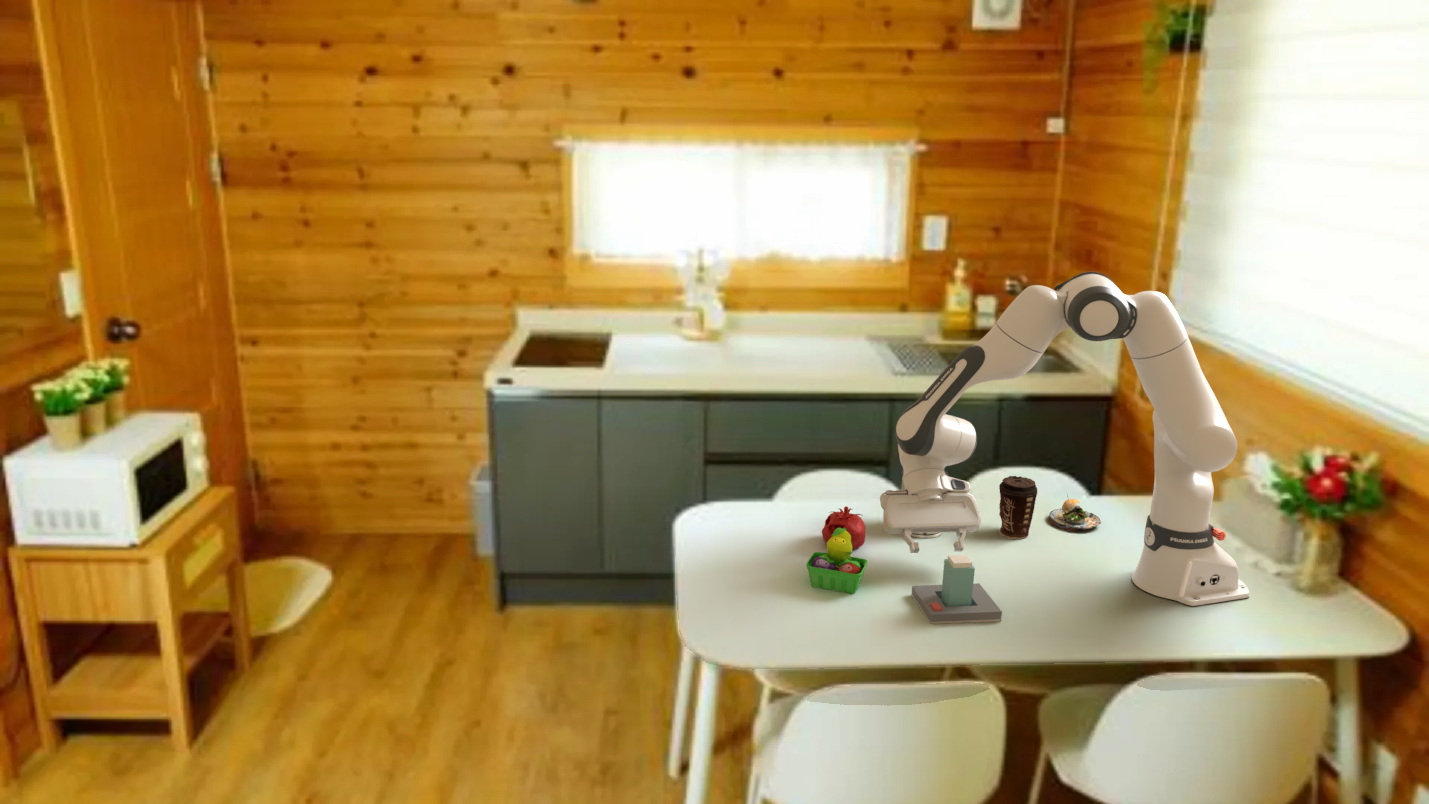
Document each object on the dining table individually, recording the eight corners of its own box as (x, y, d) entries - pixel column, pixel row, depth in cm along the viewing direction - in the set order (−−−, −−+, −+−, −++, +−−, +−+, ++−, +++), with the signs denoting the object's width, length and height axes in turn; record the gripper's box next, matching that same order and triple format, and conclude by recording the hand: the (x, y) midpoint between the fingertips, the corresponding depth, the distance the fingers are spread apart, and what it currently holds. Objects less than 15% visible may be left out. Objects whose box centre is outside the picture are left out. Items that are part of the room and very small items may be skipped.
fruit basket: (803, 588, 212) (806, 537, 209) (815, 570, 220) (817, 521, 216) (859, 598, 208) (862, 546, 205) (868, 579, 216) (871, 529, 213)
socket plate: (978, 592, 212) (979, 581, 211) (1000, 621, 200) (1002, 609, 199) (911, 594, 210) (912, 583, 209) (930, 623, 198) (931, 612, 198)
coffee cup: (1004, 523, 246) (1010, 471, 243) (1038, 532, 241) (1045, 480, 237) (988, 534, 240) (994, 481, 236) (1023, 544, 235) (1029, 490, 231)
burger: (1076, 538, 240) (1079, 507, 237) (1037, 520, 249) (1040, 490, 247) (1111, 528, 245) (1115, 499, 243) (1072, 511, 255) (1076, 482, 253)
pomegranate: (853, 533, 239) (855, 495, 236) (873, 551, 230) (876, 512, 227) (813, 538, 236) (815, 500, 233) (832, 556, 227) (834, 516, 224)
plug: (962, 599, 207) (967, 553, 204) (970, 610, 203) (975, 563, 200) (940, 600, 207) (944, 554, 204) (948, 611, 202) (952, 564, 200)
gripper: (882, 484, 217) (892, 547, 211) (976, 482, 220) (989, 544, 213) (875, 496, 223) (884, 558, 216) (967, 494, 225) (979, 555, 219)
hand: (937, 551), depth 215 cm, fingers open, 8 cm apart
